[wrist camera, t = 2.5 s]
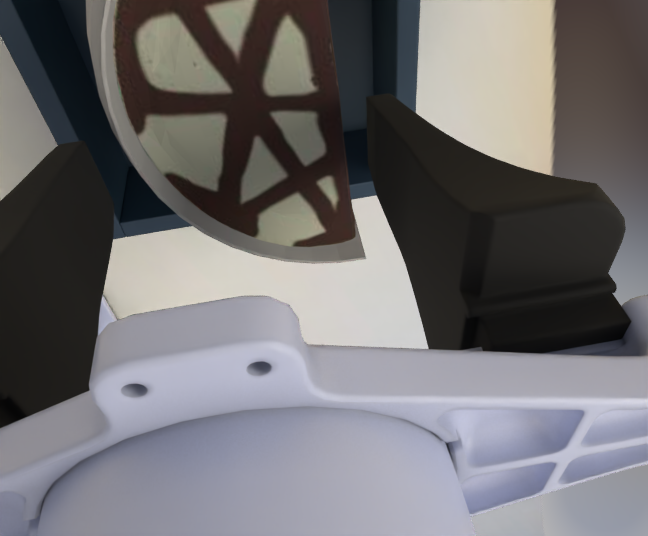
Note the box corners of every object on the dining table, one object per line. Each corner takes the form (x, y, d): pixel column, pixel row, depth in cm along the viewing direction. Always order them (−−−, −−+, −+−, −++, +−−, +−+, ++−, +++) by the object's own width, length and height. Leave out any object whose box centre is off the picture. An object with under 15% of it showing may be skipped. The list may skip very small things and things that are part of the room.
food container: (50, -231, 15) (-75, -181, 8) (263, -272, 15) (311, -255, 9) (187, 138, 24) (180, 308, 17) (321, 111, 24) (367, 270, 18)
